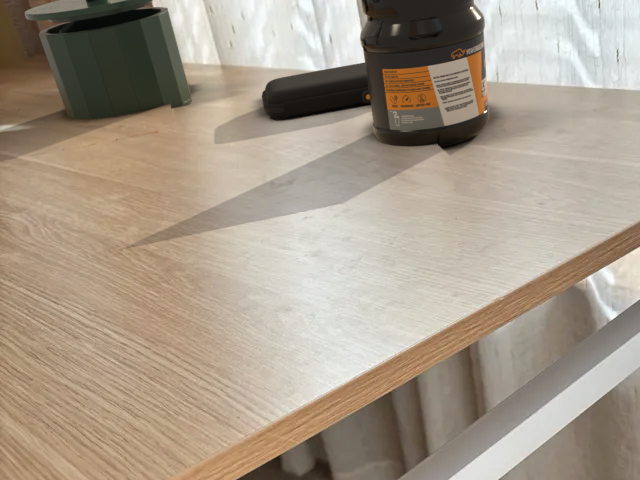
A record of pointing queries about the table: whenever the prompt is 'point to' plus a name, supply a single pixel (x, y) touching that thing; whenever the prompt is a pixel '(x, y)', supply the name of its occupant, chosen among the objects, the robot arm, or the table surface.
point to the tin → (117, 64)
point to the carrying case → (316, 92)
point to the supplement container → (425, 70)
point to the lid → (82, 9)
